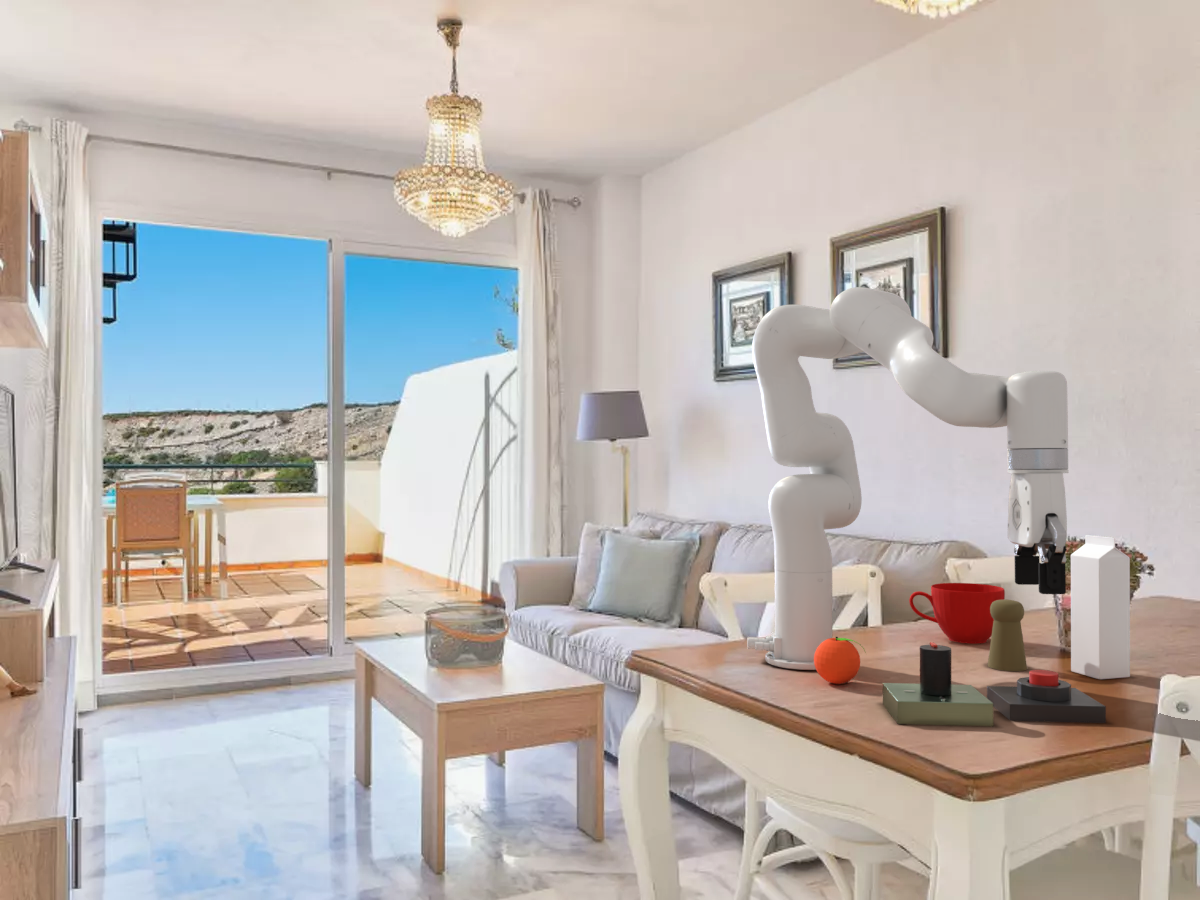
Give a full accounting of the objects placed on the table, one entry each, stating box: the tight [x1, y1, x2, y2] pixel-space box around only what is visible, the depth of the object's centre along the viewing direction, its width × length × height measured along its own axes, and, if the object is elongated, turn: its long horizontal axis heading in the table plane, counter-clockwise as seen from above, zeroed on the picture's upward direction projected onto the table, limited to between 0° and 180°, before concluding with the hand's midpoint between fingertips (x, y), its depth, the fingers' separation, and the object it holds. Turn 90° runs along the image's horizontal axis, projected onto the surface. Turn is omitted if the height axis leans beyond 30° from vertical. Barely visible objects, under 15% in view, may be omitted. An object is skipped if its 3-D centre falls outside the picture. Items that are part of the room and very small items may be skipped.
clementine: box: [814, 636, 867, 685], centre depth 146 cm, size 8×7×7 cm
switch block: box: [986, 676, 1107, 724], centre depth 129 cm, size 12×10×4 cm
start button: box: [1028, 669, 1059, 686], centre depth 130 cm, size 4×4×2 cm
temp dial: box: [919, 641, 952, 696], centre depth 128 cm, size 4×4×6 cm
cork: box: [987, 598, 1028, 672], centre depth 157 cm, size 6×6×11 cm
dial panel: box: [882, 682, 994, 727], centre depth 128 cm, size 12×10×3 cm
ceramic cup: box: [908, 582, 1006, 645], centre depth 180 cm, size 13×17×10 cm
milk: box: [1070, 534, 1131, 680], centre depth 152 cm, size 6×6×22 cm
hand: (1039, 588), depth 129 cm, fingers open, 9 cm apart
